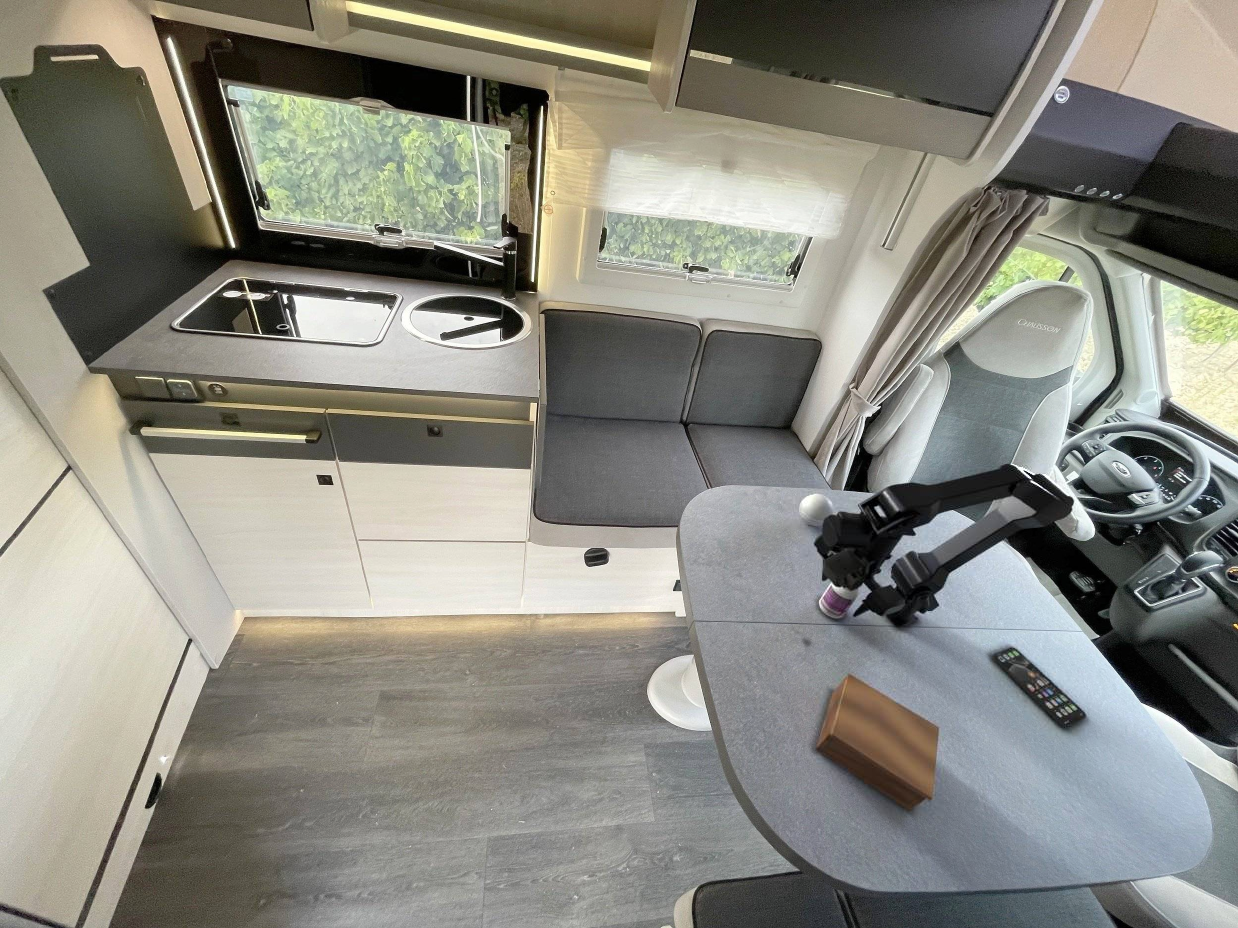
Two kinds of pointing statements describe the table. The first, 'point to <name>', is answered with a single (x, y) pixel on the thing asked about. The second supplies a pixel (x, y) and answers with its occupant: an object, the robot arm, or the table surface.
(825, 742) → the chest
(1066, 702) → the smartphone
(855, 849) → the table surface
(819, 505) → the bath bomb
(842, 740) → the lid
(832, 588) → the pill bottle
